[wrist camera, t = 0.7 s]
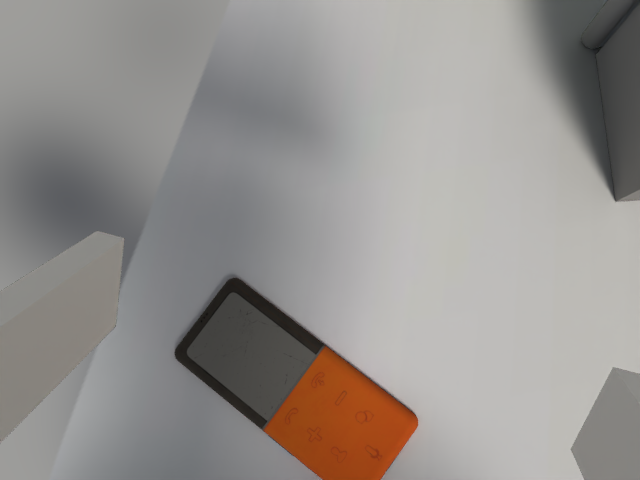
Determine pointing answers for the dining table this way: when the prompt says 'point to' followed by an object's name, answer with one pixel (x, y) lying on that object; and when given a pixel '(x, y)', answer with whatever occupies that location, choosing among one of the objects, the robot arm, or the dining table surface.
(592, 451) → the robot arm
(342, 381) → the phone
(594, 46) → the side door
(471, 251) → the dining table surface
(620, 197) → the block
